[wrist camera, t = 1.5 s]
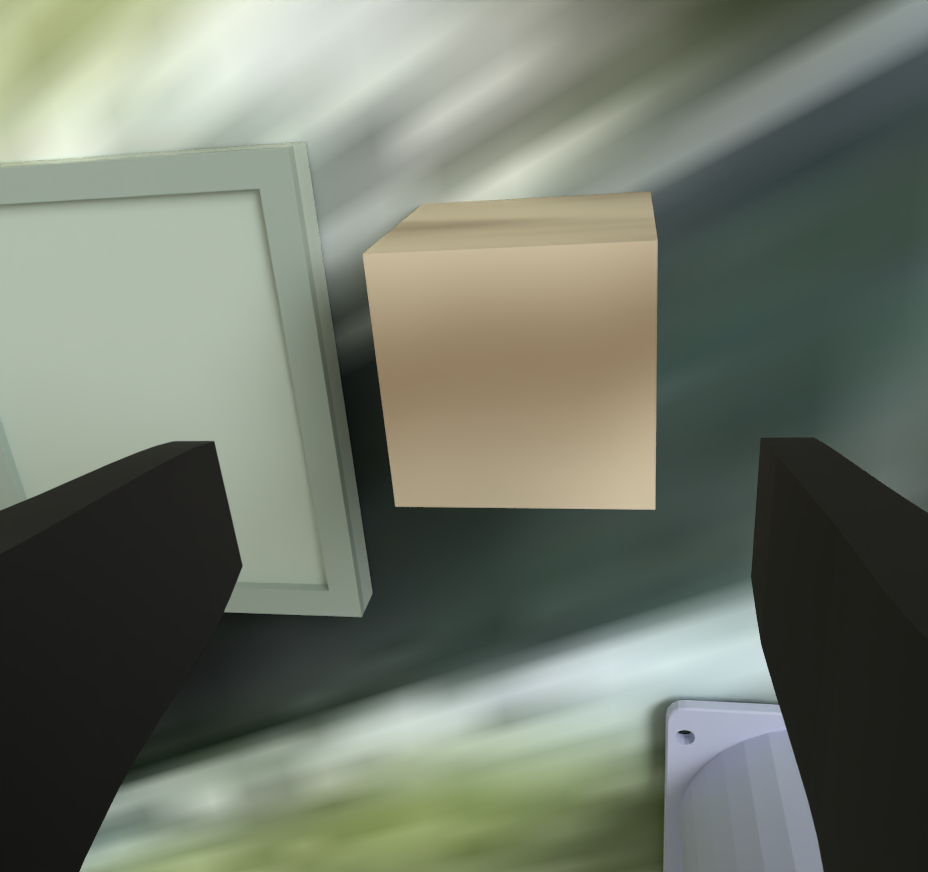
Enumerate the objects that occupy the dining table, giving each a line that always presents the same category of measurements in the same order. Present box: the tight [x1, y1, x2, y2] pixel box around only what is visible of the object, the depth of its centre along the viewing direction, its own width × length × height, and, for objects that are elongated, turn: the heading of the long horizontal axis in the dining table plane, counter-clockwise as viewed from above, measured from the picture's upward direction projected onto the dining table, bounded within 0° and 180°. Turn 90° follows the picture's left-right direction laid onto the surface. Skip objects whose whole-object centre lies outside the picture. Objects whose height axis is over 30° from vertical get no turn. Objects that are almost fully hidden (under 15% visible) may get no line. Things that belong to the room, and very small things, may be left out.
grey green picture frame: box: [0, 142, 372, 617], centre depth 22 cm, size 12×10×1 cm
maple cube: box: [363, 191, 658, 510], centre depth 18 cm, size 5×5×5 cm
